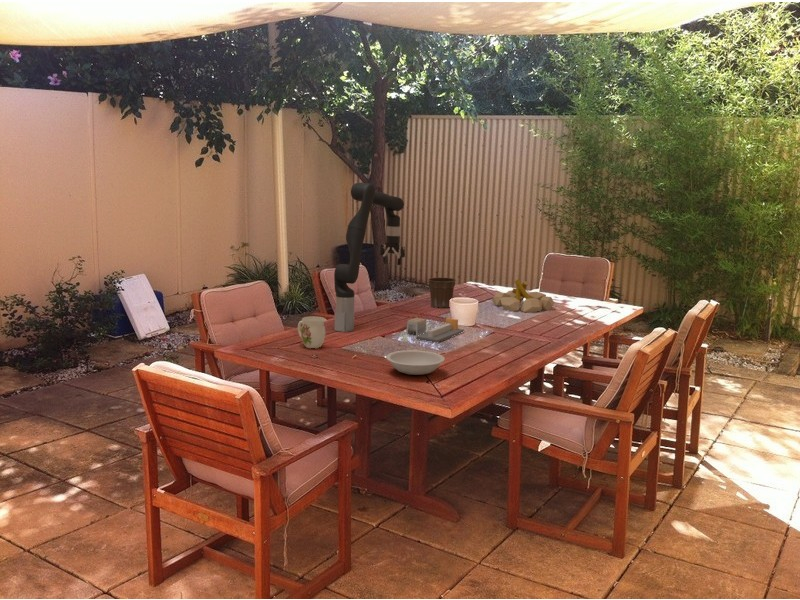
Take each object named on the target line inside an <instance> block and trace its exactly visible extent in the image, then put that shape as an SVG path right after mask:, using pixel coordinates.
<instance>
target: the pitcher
mask: <svg viewBox="0 0 800 600" xmlns="http://www.w3.org/2000/svg"><path fill="white" fill-rule="evenodd" d="M326 321H327V319H326V318H325V317H323V316H314V315H313V316H304V317H302V318H301V320H299V322H298V324H297V334H298V335H299V337H300V338H301V340H302V343H303V346H305V348H306V349H311V348H315V349H319V347H320V348H321V346H322V345H323V344H324V341H325V339H326V338H325V337H326V326H325V322H326Z"/></svg>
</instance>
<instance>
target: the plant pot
mask: <svg viewBox="0 0 800 600" xmlns="http://www.w3.org/2000/svg"><path fill="white" fill-rule="evenodd" d="M427 280H428V284H429V291H430V306H431V307H432V306H433V307H432V308H435V307H439V308H438V309H443V308H445V309H447V308H448V309H450V307H449V300H450V299H451V298H452V299H453V297H454V288H455V285H456V284H455V283H456V279H455V278H451V277H430V278H428V279H427Z"/></svg>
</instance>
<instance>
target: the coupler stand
mask: <svg viewBox="0 0 800 600" xmlns="http://www.w3.org/2000/svg"><path fill="white" fill-rule="evenodd" d="M458 327H459V318H458V319H457V318H456V319H455V318H451V317H450V318H449V317H446V318H445V324H442V325H440V326H436V327H434V328H432V329H429V330H427V331H426V333H424V334H421V335H419V336H416V335H415V340H416V339H420V340H419V341H422V340H426V341H425V342H428V341H432V342H431V343H434V342H440V341H442V342H444V341H446V340H445V339H447V338H449V339H451V338H450V337H452V336H454V335H456V336H458V335H457V334H459V333H461V332H463V331H464V332H465V329H462V328H458ZM461 334H462V333H461ZM459 335H460V334H459ZM454 337H455V336H454ZM452 338H453V337H452ZM443 340H444V341H443ZM447 340H448V339H447ZM440 343H441V342H440Z"/></svg>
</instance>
